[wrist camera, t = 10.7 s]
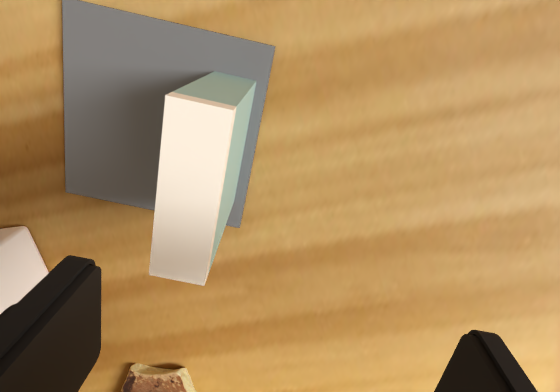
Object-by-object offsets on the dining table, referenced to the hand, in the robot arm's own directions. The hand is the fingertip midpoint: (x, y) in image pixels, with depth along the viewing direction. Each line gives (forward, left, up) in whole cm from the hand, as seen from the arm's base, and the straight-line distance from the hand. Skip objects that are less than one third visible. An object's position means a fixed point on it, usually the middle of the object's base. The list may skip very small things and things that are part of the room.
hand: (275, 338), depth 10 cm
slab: (+4, 0, -16) cm, 16 cm away
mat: (+8, 0, -16) cm, 18 cm away
